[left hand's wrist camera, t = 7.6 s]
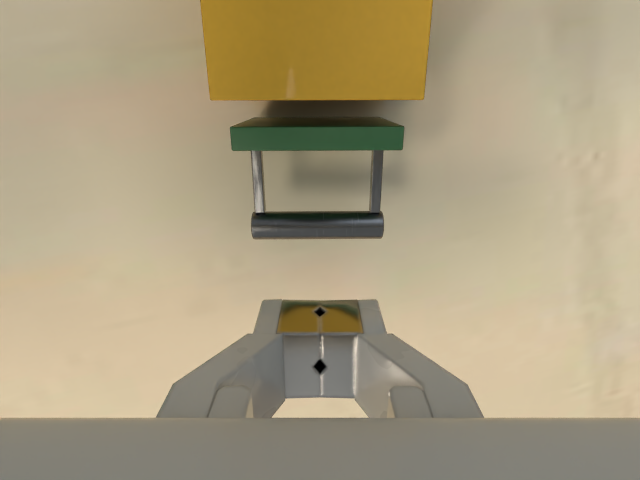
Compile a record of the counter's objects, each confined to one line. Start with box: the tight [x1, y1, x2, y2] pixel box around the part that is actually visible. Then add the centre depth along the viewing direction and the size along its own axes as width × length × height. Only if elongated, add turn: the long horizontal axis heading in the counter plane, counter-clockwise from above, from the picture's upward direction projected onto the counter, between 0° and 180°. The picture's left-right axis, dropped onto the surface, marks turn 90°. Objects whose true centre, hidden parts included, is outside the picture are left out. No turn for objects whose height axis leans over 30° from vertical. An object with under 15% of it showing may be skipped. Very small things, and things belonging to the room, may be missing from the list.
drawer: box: [230, 117, 404, 239], centre depth 21 cm, size 25×9×8 cm, turn 0°
